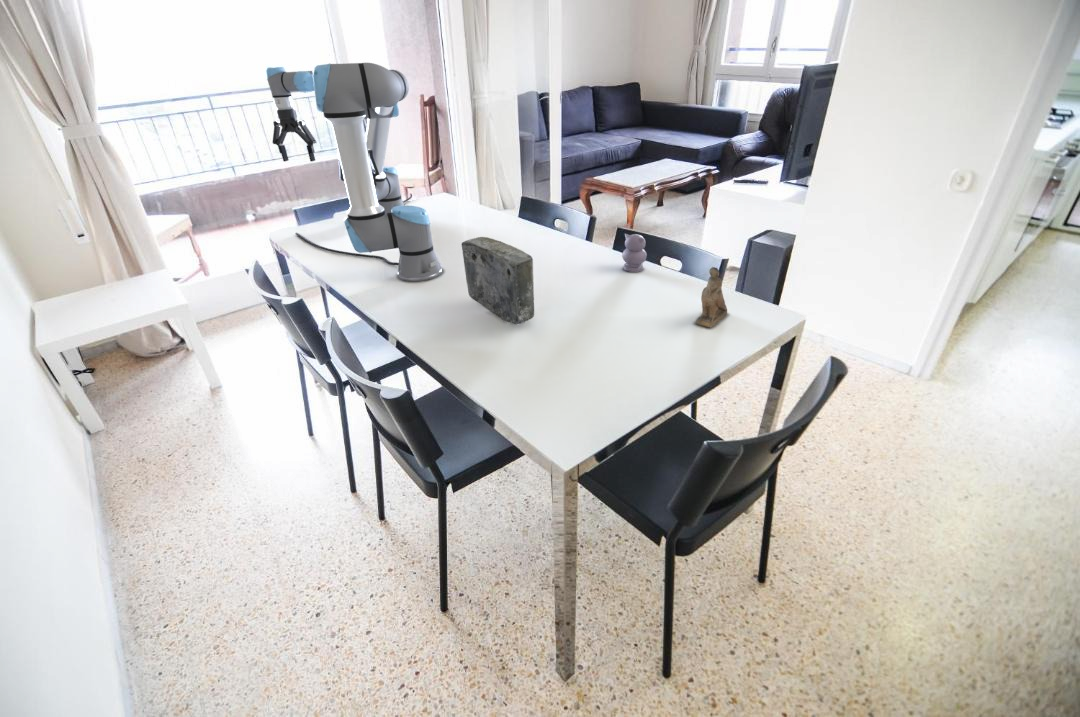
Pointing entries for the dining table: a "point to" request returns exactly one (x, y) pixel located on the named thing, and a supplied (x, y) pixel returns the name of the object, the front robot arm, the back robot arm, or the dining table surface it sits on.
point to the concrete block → (500, 278)
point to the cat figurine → (634, 253)
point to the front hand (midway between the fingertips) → (363, 196)
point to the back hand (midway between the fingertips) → (299, 161)
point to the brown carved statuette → (712, 301)
